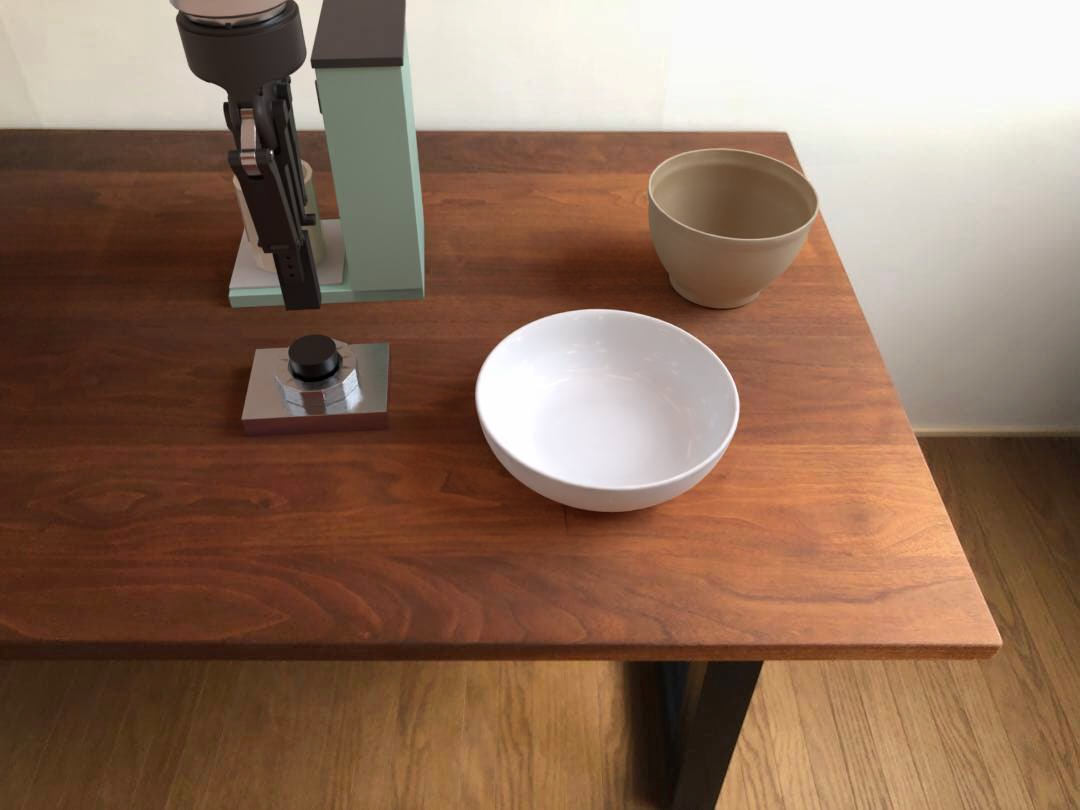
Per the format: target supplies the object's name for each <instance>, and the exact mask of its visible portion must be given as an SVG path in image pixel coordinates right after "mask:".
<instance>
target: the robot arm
mask: <svg viewBox="0 0 1080 810" xmlns="http://www.w3.org/2000/svg"><path fill="white" fill-rule="evenodd" d="M169 3H170V5H171V6H172V7H174V9H176V10H177V11H178V12H177V14H176V15H175V22H176V26H177V30H178V34H179V37H180V41H181V44H182V48H183V52H184V56H185V58H186V63H187V66H188V68H189V70H190V71H191V73H192V74H193V75H194V76H195V77H196V78H197V79H199V80H201V81H203V82H205V83H208V84H213V85H215V86H217V87H220V89H223V90H224V91H225V92H226V95H227V98H226V99H227V101H223V104H222V111H223V116H224V120H225V123H226V124H225V125H226V127H227V129H228V130H229V131H230V132H231V133H232V136H233V137H232V138H233V141H234V144H235V149H229V150H228V152H227V162H228V164H229V168H230V169H231V171H232V172H233V174H235V176H236V177H237V179H238V181H239V184H240V187H241V189H242V192H243V195H244V198H245V201H246V204H247V207H248V209H249V212H250V215H251V218H252V221H253V224H254V227H255V229H256V232H257V235H258V238H259V239H258V243H257V245H258V247H261V248H262V249H263V252H264V253H265V254H267V253H272V255H273V259H274V263H275V267H276V271H277V275H278V279H279V283H280V288H281V292H282V296H283V300H284V304H285V305H284V307H285V311H287V312H289V311H308V310H309V311H310V310H321V307H322V304H321V301H322V296H321V291H320V286H319V281H318V277H317V272H316V267H315V262H314V257H313V253H312V248H311V243H310V238H309V233H308V230H302V227H301V226H316V214H315V213H313V214H305V209H304V206H307V201H308V196H307V195H306V190H305V184H304V177H303V171H302V164H301V160H302V159H301V151H300V145H299V138H298V134H297V133H298V132H297V126H296V120H295V114H294V106H293V94H292V93H293V92H292V88H291V84H292V78H291V75H293V74H294V73H296V72H297V71H298V70H299V69H300V68H301V67H302V66H303V65H304V63H305V62H306V59H307V54H308V53H307V51H308V49H307V46H306V40H305V34H304V28H303V23H302V18H301V12H300V7H299V4H298V3H297V2H296V1H295V0H169Z"/></svg>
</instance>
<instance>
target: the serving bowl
mask: <svg viewBox="0 0 1080 810" xmlns="http://www.w3.org/2000/svg"><path fill="white" fill-rule="evenodd" d="M474 389H475V391H474V395H475V396H474V399H475V408H476V412H477V416H478V420H479V423H480V427H481V430H482V432H483V436H484V437H485V439H486V442H487V444H488V445H489V447H490V449H491V451H492V452H493V454H494V455H495V457H496V459H497V460H498V461H499V462H500V464H501V465H502V466H503V467H504V468H505V469H506V470H507V471H508V472H509V473H510V475H512V476H513V477H514V478H515V479H516V480H518V481H519V482H520V483H522V484H523V485H524V486H526V487H527V488H529V489H530V490H531V491H534V492H536V493H537V494H539V495H541V496H543V497H544V498H547V499H548V500H551V501H554V502H557V503H560V504H562V505H565V506H569V507H571V508H574V509H575V508H576V509H581V510H585V511H592V512H602V513H603V512H604V513H605V512H606V513H608V512H609V513H617V512H618V513H620V512H621V513H622V512H631V511H636V510H642V509H646V508H650V507H654V506H658V505H660V504H663V503H666V502H669V501H670V500H673V499H675V498H677V497H679V496H680V495H682V494H684V493H686V492H688V491H690V489H692V488H694V487H695V486H696V485H697V484H698V483H701V481H702V480H703V479H704V478H705V477H707V475H709V474H710V473H711V472H712V470H714V468H715V467H716V466H717V464H718V463H719V461H720V460H721V459H722V458H723V455H724V454H725V452H727V449H728V447H729V445H730V443H731V441H732V439H733V437H734V435H735V432H736V430H737V427H738V424H739V418H740V397H739V392H738V389H737V386H736V383H735V381H734V379H733V377H732V374H731V373H730V371H729V369H728V368H727V366H726V365H725V364H724V362H723V361H722V360H721V359H720V357H718V355H717V354H716V353H715V352H714V351H713V350H712V349H710V348H709V346H707V345H706V344H704V343H703V342H702V341H701V340H700V339H698V338H697V337H695V336H694V335H692V334H691V333H689V332H687V331H685V330H684V329H682V328H681V327H678V326H676V325H674V324H672V323H669V322H667V321H664V320H663V319H659V318H656V317H652V316H650V315H645V314H641V313H637V312H632V311H626V310H619V309H607V308H603V309H602V308H589V309H588V308H587V309H578V310H570V311H569V310H568V311H565V312H560V313H555V314H552V315H551V314H550V315H547V316H545V317H541V318H539V319H537V320H534V321H532V322H529V323H527V324H524V325H523V326H521V327H519V328H517V329H516V330H514V331H513V332H511V333H510V334H508V335H507V336H505V338H503V339H501V341H500V342H499V343H498V344H496V345H495V346H494V348H493V349H492V350H491V351H490V353H489V354H488V355H487V357H486V358H485V360H484V361H483V363H482V365H481V368H480V370H479V371H478V375H477V379H476V383H475V388H474Z"/></svg>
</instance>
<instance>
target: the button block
mask: <svg viewBox="0 0 1080 810" xmlns="http://www.w3.org/2000/svg"><path fill="white" fill-rule="evenodd" d="M330 338H331V337H330ZM331 339H332V340H333V341H334V342H335V344H336V348H337V354H338V359H339V369H338V371H337V372H336V373H335V374H334V375H333V376H332V377H330V378H327V379H325V380H323V381H320V382H304V381H301V380H299V379H297V378H296V377H295V376H294V374H293V372H292V368H291V363H290V359H289V355H288V350H289V347H290V346H291V345H289V346H288V347H269V348H256V349H255V352H254V356H253V361H252V367H251V371H250V376H249V380H248V385H247V389H246V390H247V391H246V395H245V399H244V405H243V410H242V414H241V418H240V419H241V423H242V426H243V429H244V432H245V435H246V438H256V437H257V438H258V437H274V436H275V437H276V436H277V437H278V436H293V435H309V434H311V435H313V434H325V433H327V434H328V433H330V434H331V433H345V432H364V431H380V430H381V431H382V430H389V429H390V416H391V415H390V413H391V388H392V365H393V364H392V363H393V360H392V353H391V344H390V342H371V343H352V344H351V343H350V344H348V343H346V342H344V341H341V340H337V339H335V338H331Z"/></svg>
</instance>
